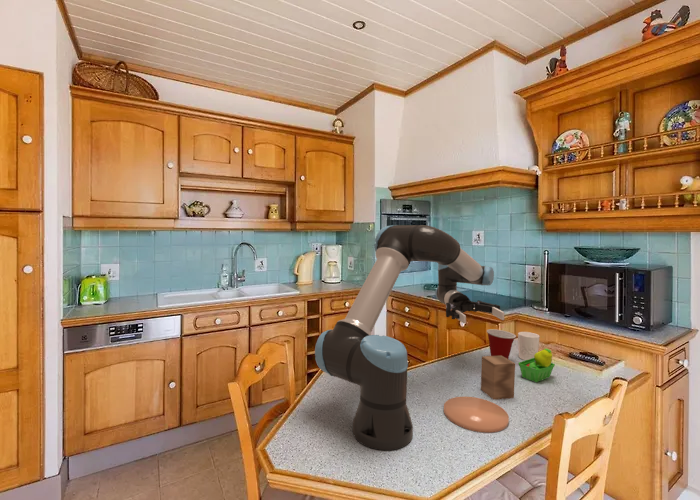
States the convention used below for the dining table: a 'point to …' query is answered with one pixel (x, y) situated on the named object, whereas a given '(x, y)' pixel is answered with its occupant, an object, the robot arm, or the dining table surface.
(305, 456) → the dining table surface
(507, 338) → the plastic cup
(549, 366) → the fruit basket
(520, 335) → the white cup
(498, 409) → the dish
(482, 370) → the walnut block
